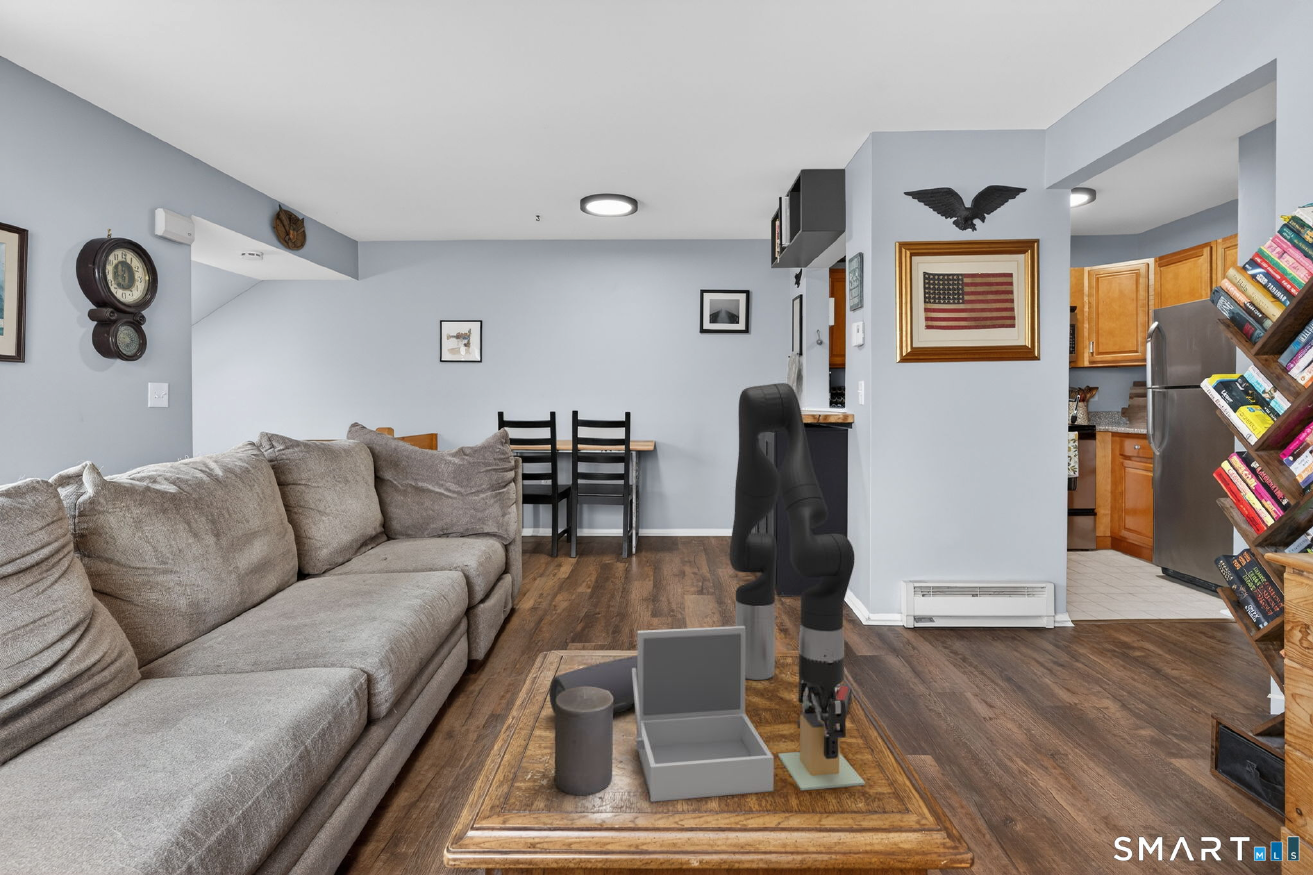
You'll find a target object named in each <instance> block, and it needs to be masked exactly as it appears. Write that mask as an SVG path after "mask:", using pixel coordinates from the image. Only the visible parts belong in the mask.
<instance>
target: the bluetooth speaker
mask: <svg viewBox="0 0 1313 875" xmlns="http://www.w3.org/2000/svg"><path fill="white" fill-rule="evenodd" d="M633 668H636V673H637V655H633V656H628V657H626V656H625V657H623V658H617V659H613V660H608V661H604V662H600V663H599V662H598V663H595V664H593V665H588V666H584V667H581V668H577V669H574V670H570V671H567V672H563V673H561V674H559V675H556V676H553V678H552V679H551V681H550V686H549V691H548V694H549V695H548V697H549V702H550V707H551V709H552V713H553V714H554V715H555V708H556V707H555V702H556V698H557V696H558V695H559V694H560V693H562V692H563V691H565V690H568V689H571V688H576V687H584V686H585V687H596V688H600V689H604V690H607V691H609V692H610V693H611V695H612V696H613V698H614V699H613V714H616V713H620V712H622V711H626V710H629V709H630V708H632V705H633V704H635V703H634V691H633V679H632V669H633Z"/></svg>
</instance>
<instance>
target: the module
mask: <svg viewBox="0 0 1313 875" xmlns="http://www.w3.org/2000/svg"><path fill="white" fill-rule="evenodd" d="M823 715H824V716H828V714H823ZM799 716H800V717H799V718H800V725H799V752H800V761H801V763H802V764H803V765H804V767H805V768H806V770H807V771H808V772H809V774H810V775H811V776H814V775H826V774H838V773H839V753H840V744H841V743H840V739H841V738H838V757H837V758H835V759H826V758H825V756H824V731H823V727H822V723H820V722H819V721H818V717H817V713H810V714H803V715H801V714H799ZM827 725H828V722H827ZM839 727H840V725H839Z"/></svg>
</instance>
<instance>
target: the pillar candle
mask: <svg viewBox="0 0 1313 875" xmlns="http://www.w3.org/2000/svg"><path fill="white" fill-rule="evenodd" d="M613 699H614V698H613V696H612V695H611V693H610V692H609V691H607V690H604V689H600V688H596V687H585V686H584V687H576V688H571V689H568V690H565V691H563V692H562V693H560V694H559V695H558V696H557V698H556V702H555V707H556V708H555V714H554V716H555V718H554V721H555V722H554V723H555V726H554V731H555V732H554V744H555V745H554V784H555V787H557V789H558V790H560V791H561V792H563V793H566V794H568V795H573V796H587V795H588V796H589V795H593V794H597V793H599V792H601V791H604V790H605V789H606V788H608V787H609V786H610V784H611V782H612V778H613V753H614V752H613V751H614V750H613V749H614V748H613V746H614V745H613V744H614V741H613V740H614V738H613V737H614V736H613V734H614V733H613V732H614V730H613V729H614V725H613V724H614V713H613Z"/></svg>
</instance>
